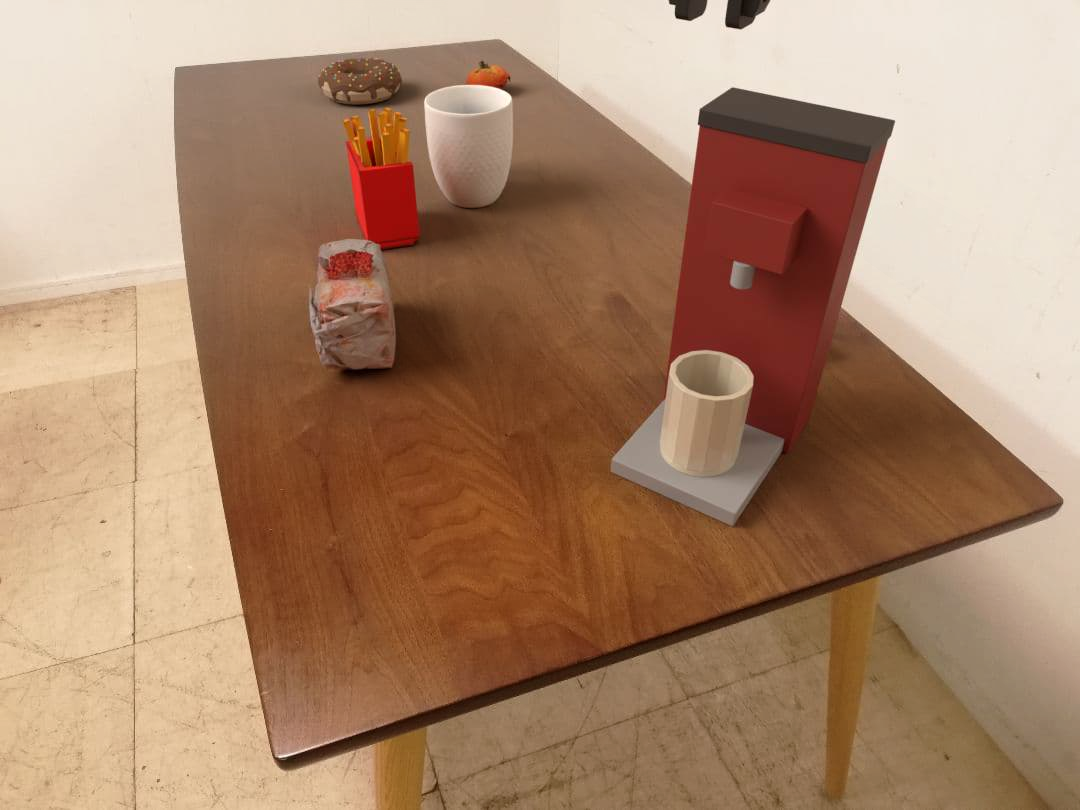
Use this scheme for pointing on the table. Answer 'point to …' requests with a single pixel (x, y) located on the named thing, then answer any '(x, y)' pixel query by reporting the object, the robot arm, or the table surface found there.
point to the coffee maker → (763, 274)
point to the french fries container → (383, 179)
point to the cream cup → (705, 412)
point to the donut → (360, 81)
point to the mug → (470, 142)
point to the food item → (353, 307)
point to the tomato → (488, 76)
